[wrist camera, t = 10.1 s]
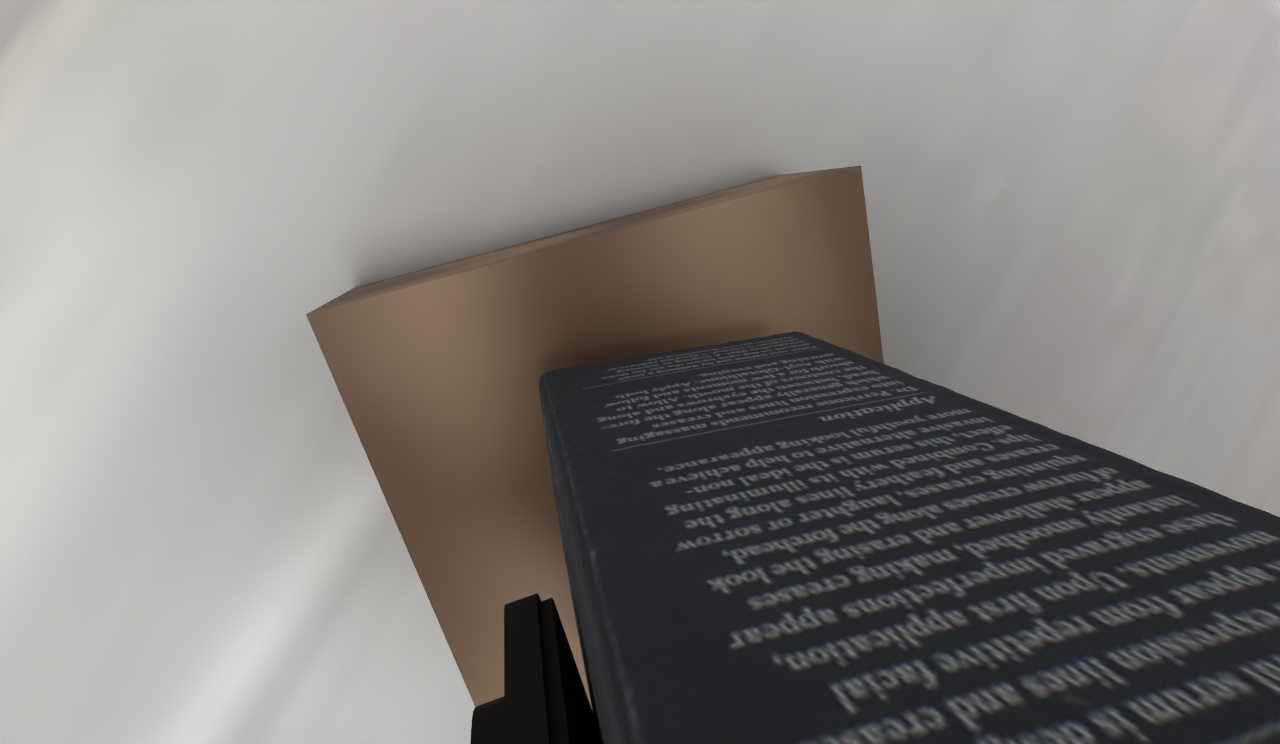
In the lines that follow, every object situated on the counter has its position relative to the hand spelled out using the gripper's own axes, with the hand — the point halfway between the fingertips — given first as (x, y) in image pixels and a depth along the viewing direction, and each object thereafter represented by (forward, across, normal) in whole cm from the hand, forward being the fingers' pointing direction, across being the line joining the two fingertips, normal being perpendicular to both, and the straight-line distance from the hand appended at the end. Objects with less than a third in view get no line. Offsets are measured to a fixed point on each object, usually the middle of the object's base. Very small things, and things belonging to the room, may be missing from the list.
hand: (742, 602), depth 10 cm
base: (+8, 0, 0) cm, 8 cm away
